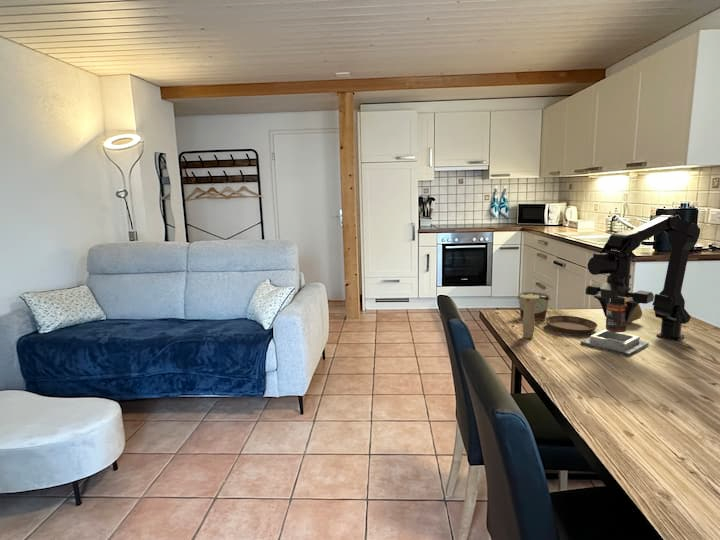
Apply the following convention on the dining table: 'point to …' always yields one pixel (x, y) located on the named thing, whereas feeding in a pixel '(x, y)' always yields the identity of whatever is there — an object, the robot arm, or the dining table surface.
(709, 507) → the dining table surface
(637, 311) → the natural sponge
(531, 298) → the handle
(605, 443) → the dining table surface
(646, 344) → the grey square tray
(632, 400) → the dining table surface
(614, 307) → the supplement bottle
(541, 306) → the food container
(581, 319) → the plant saucer
